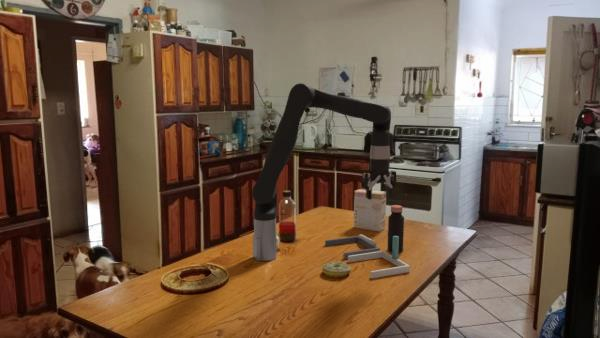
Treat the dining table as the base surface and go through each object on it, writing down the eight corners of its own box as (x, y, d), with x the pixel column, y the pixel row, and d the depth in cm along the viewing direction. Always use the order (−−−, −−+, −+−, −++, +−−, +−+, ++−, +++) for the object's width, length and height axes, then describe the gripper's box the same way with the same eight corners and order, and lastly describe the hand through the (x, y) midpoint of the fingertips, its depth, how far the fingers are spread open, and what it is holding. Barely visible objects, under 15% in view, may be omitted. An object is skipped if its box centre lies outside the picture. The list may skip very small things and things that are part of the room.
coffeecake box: (385, 228, 236) (386, 191, 233) (380, 232, 230) (381, 194, 227) (359, 224, 244) (359, 188, 241) (353, 227, 238) (353, 190, 235)
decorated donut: (355, 273, 178) (356, 264, 177) (338, 281, 170) (338, 272, 169) (334, 266, 185) (334, 257, 184) (317, 274, 177) (317, 265, 176)
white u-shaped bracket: (371, 278, 172) (372, 249, 171) (347, 261, 190) (348, 234, 188) (411, 271, 179) (412, 243, 177) (384, 255, 196) (385, 229, 195)
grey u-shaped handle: (344, 259, 193) (344, 248, 192) (325, 245, 210) (325, 236, 209) (380, 253, 199) (380, 243, 198) (358, 240, 216) (359, 231, 216)
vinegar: (386, 251, 202) (387, 207, 198) (389, 246, 208) (390, 203, 205) (401, 253, 199) (403, 208, 196) (404, 248, 205) (405, 205, 202)
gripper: (390, 154, 183) (389, 194, 185) (358, 156, 178) (357, 197, 180) (401, 157, 176) (399, 198, 179) (368, 159, 171) (367, 202, 173)
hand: (378, 198), depth 179 cm, fingers open, 8 cm apart
